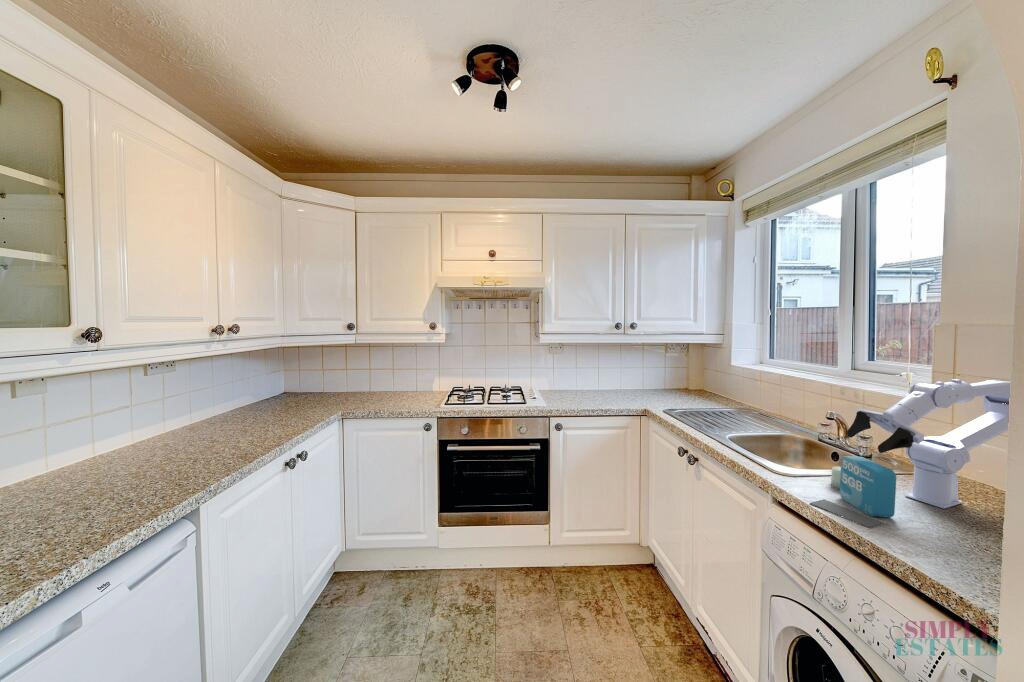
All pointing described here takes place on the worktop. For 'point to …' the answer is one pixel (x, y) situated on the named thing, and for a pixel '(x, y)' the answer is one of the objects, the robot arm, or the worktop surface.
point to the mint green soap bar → (836, 477)
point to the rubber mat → (847, 513)
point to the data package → (868, 486)
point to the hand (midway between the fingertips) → (863, 442)
